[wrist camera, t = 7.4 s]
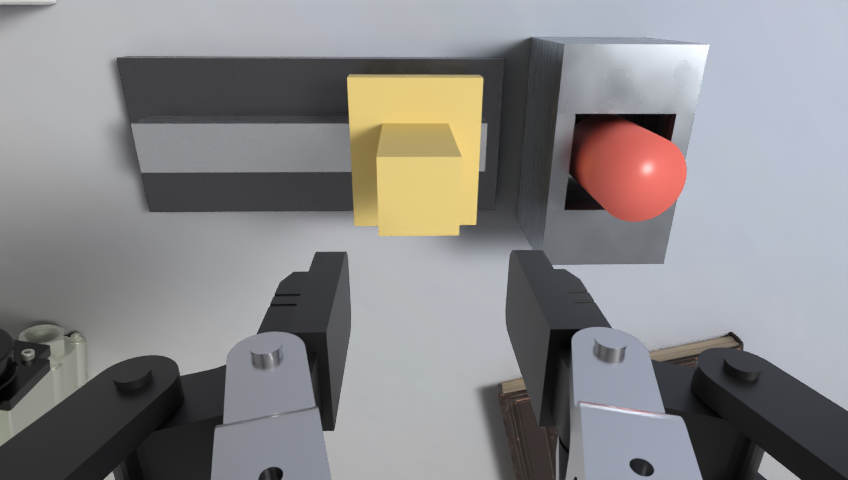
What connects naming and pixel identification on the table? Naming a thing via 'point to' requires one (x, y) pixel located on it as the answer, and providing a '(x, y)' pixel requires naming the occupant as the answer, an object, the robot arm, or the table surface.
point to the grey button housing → (584, 96)
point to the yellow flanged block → (415, 152)
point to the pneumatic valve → (37, 374)
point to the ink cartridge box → (27, 2)
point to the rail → (270, 128)
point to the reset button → (626, 167)
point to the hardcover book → (539, 444)
